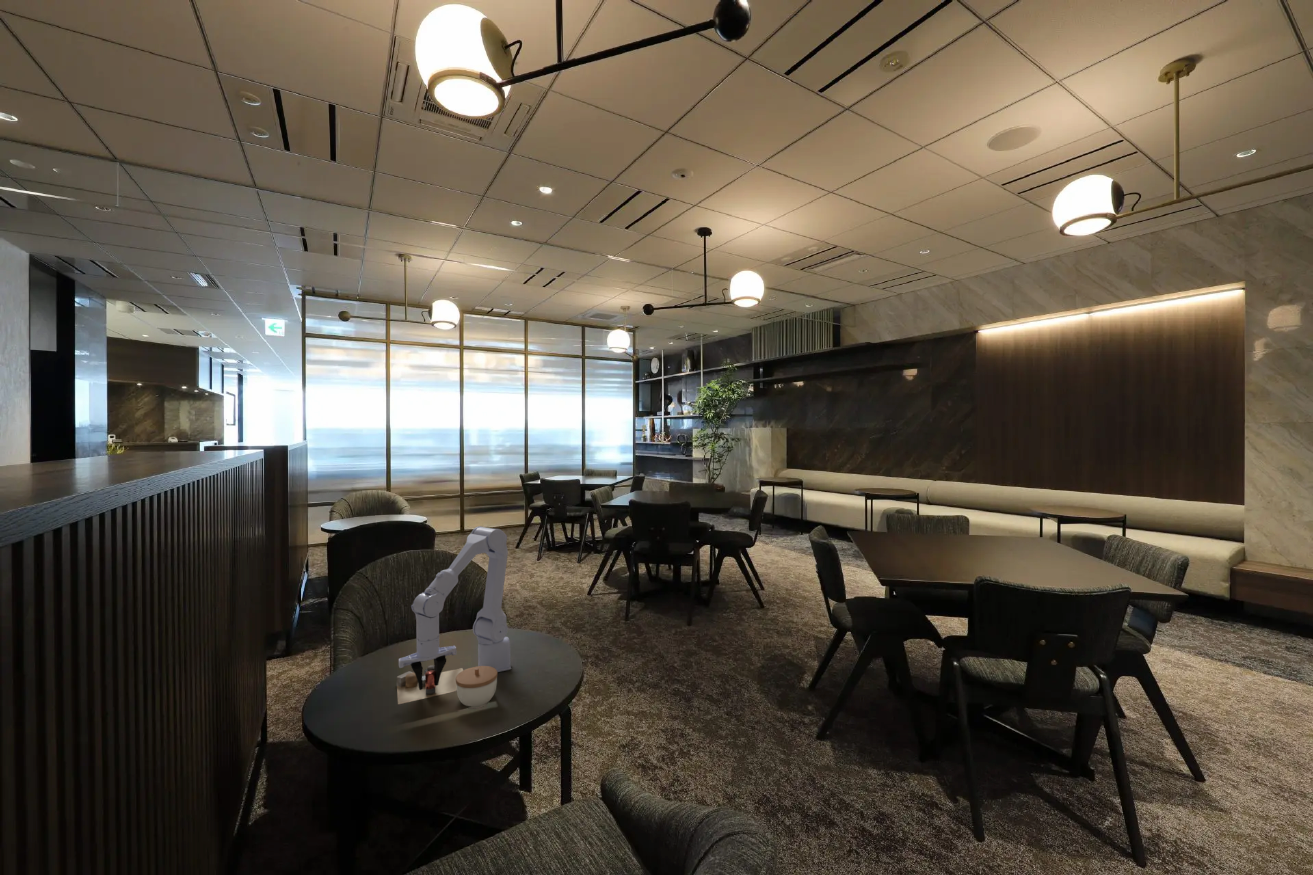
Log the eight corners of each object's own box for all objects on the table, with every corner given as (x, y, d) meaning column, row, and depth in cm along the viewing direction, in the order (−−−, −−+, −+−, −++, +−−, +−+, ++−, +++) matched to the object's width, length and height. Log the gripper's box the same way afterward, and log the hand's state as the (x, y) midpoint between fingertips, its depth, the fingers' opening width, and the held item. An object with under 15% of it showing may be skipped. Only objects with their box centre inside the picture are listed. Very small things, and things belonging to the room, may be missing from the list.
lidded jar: (473, 718, 131) (473, 681, 131) (447, 706, 136) (447, 671, 136) (506, 699, 140) (505, 665, 140) (480, 689, 145) (480, 656, 145)
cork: (417, 681, 147) (417, 671, 147) (418, 686, 145) (418, 675, 145) (405, 684, 146) (405, 673, 146) (405, 689, 143) (405, 678, 143)
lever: (437, 671, 153) (437, 653, 153) (437, 693, 140) (437, 673, 140) (420, 674, 151) (420, 655, 151) (419, 696, 138) (419, 676, 138)
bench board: (462, 671, 156) (462, 658, 156) (469, 692, 144) (469, 678, 144) (396, 685, 147) (396, 672, 147) (397, 708, 135) (397, 693, 135)
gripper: (452, 626, 148) (452, 673, 148) (396, 638, 140) (397, 687, 140) (458, 634, 142) (458, 682, 142) (400, 647, 134) (401, 698, 134)
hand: (428, 685), depth 141 cm, fingers open, 3 cm apart
